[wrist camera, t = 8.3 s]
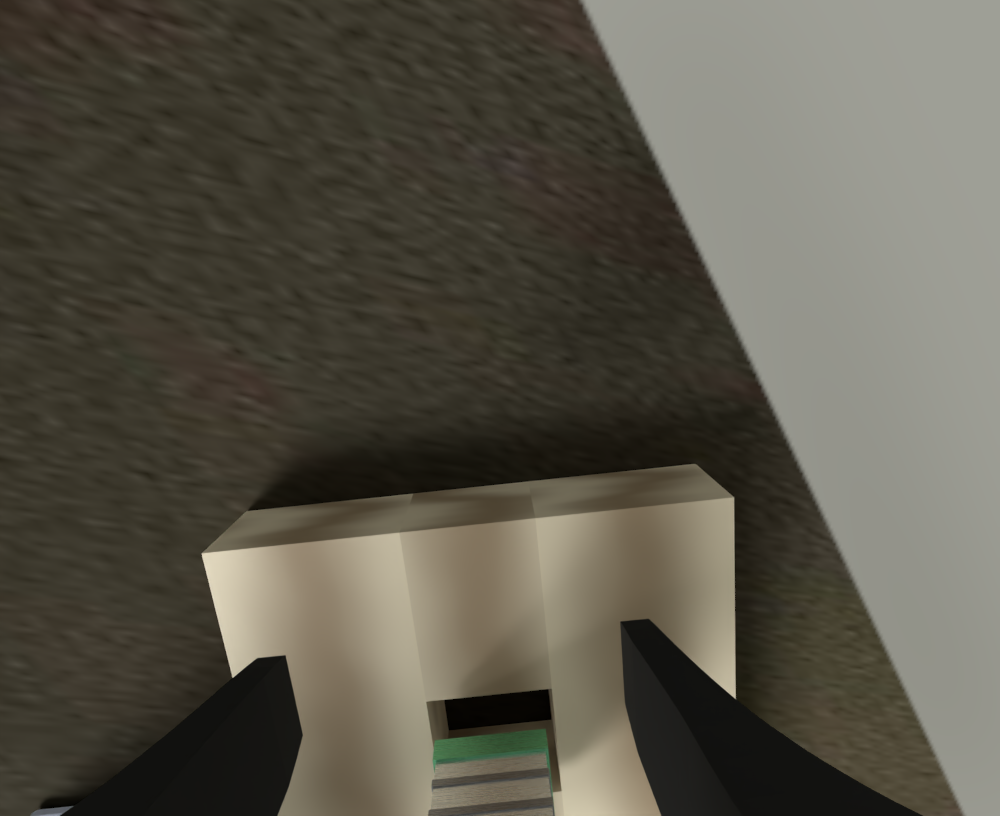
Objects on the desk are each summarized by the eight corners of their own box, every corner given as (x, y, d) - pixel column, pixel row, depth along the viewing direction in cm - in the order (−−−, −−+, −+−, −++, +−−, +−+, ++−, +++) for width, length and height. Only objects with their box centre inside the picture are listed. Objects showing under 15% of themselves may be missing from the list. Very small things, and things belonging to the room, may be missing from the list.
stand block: (325, 863, 26) (294, 976, 22) (246, 511, 22) (188, 565, 18) (704, 824, 26) (746, 929, 21) (695, 463, 22) (744, 507, 17)
